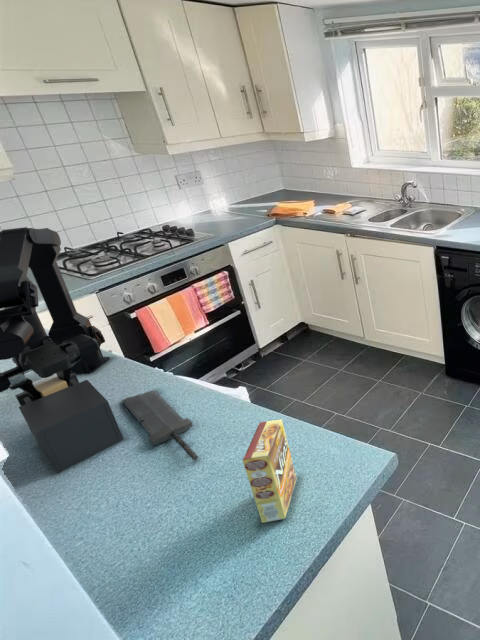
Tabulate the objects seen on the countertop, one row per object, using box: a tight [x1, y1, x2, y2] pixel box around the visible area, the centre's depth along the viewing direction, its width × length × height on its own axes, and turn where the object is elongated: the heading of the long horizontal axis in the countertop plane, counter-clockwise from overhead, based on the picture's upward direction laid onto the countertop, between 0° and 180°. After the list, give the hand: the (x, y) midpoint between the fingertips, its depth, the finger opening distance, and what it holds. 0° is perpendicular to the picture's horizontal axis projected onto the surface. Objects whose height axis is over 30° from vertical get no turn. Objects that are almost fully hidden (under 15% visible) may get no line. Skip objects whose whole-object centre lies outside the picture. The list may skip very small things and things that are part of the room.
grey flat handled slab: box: [121, 390, 199, 461], centre depth 96 cm, size 7×35×2 cm, turn 55°
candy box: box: [242, 419, 298, 524], centre depth 77 cm, size 9×4×15 cm, turn 13°
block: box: [34, 377, 68, 397], centre depth 93 cm, size 4×4×4 cm
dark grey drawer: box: [14, 373, 80, 407], centre depth 95 cm, size 16×9×9 cm, turn 57°
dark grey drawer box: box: [18, 379, 125, 474], centre depth 90 cm, size 13×11×11 cm
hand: (53, 395), depth 93 cm, fingers closed on block, 4 cm apart
